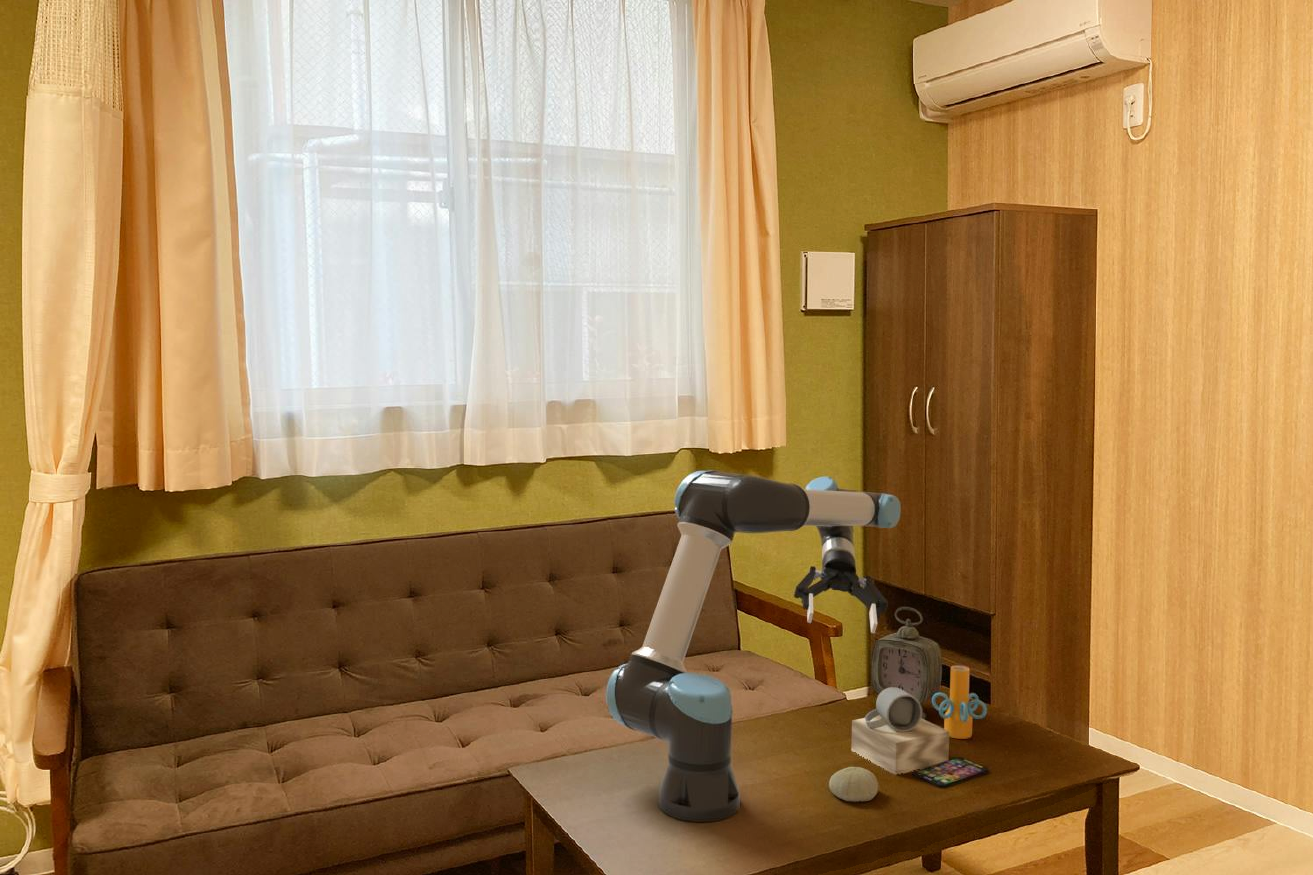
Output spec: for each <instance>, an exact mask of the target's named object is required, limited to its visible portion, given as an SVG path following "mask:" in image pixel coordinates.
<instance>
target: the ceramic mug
mask: <svg viewBox="0 0 1313 875" xmlns="http://www.w3.org/2000/svg"><path fill="white" fill-rule="evenodd" d="M877 695H878V694H877ZM875 702H876V703H875V706H876V708H875V709H873V710H871V711H869V712H868V713H867V714H866V715H865V717H864V718H865V721H866V724H867V726H868V727H869V728H879V727H882V726H884V725H887V724H889V725H890V726H891V727H892V728H893V729H895V730H897V731H900V732H906V731H910V730H912V729H913V728H915V727H916V726H917V725H918V723H919V722H920V720H921V716H922V708H921V705H920V703H919V701H918V700H917V699H916V698H915V697H914V696H912V695H910V694H908V693H907V692H905V691H904V690H902V689H899V688H896V687H890V688H886V689H884V690H883V691H882V692H881V693H880V694H879V695H878V696H877V697H876V701H875ZM878 715H880V716H881V717H882V718H881V719H879V720H876V721H870V720H872V719H873V718H874V717H876V716H878Z"/></svg>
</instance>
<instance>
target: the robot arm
mask: <svg viewBox="0 0 1313 875" xmlns="http://www.w3.org/2000/svg"><path fill="white" fill-rule="evenodd" d="M673 504H674V506H675V508H674V512H675V515H676V517H677V518H678V522H677V528H678V530H679V533H680V535H681V536H680V539H679V542H678V544H677V547H676V550H675V553H674V556H673V559H672V562H671V565H670V567H669V570H668V573H667V575H666V579H665V582H664V584H663V587H662V590H661V593H660V595H659V598H658V601H657V605H656V607H655V609H654V613H653V614H652V618H651V622H650V623H649V627H648V629H647V632H646V635H645V638H644V640H643V643H642V646H641V647H640V648H639V649H637V650H635V651H632V653H631V654H630V658H629V660H628V662H627V663H625V664H624V663H623V664H621V665H619V666H618V667H617V669H615V670H613V672H612V673H611V675H610V677H609V679H608V682H607V685H606V690H605V699H606V700H605V702H606V706H607V708H608V712H609V714H610V717H612V718H613V720H615V721H616V723H618V724H620V725H622V726H625V727H626V728H628V729H629V730H632V731H637V732H640V733H641V734H642V733H643V734H645V735H648V736H651V737H653V738H657V739H658V740H659V739H660V740H663V741H664V742H667V743H668V744H667V745H668V746H667V747H668V750H667V752H668V757H667V758H668V760H667V761H668V763H667V765H666V769H665V771H664V775H663V777H662V781H661V784H660V785H659V786H660V787H659V789H658V808H660V810H661V811H662V812H663V813H665V814H666V815H668V816H670V817H672V818H675V819H677V820H682V821H687V822H694V823H695V822H696V823H697V822H698V823H706V822H707V823H709V822H715V821H721V820H725V819H728V818H729V817H732V816H733V815H735V814H736V813H737V812H739V809H740V806H741V804H740V803H741V800H740V799H741V797H740V795H741V794H740V789H739V786H738V782H737V780H736V778H735V774H734V770H733V766H732V729H733V727H732V726H733V717H732V716H733V705H732V694H731V690H730V688H729V687H728V686H727V684H726V683H724V682H723V681H722V680H720V679H719V678H717V677H714V676H712V675H709V674H704V673H699V674H698V673H696V672H687V669H686V667H685V664H684V661H685V658H686V654H687V651H688V648H689V647H690V643H691V640H692V636H693V634H694V631H695V628H696V624H697V622H698V620H699V616H700V613H701V610H702V608H703V604H704V602H705V600H706V595H707V593H708V589H709V587H710V584H711V581H712V578H713V575H714V572H715V569H716V567H717V564H718V560H719V557H720V555H721V552H722V550H723V549H726V547H728V546H731V545H732V543H733V539H734V537H735V534H736V533H739V534H740V533H741V534H742V533H743V534H766V533H768V534H769V533H777V532H778V533H779V532H794V531H798V530H800V529H802V528H803V527H816V529H817V530H818V534H819V537H820V542H821V562H822V563H821V565H822V566H821V568H822V570H817V568H816V567H815V566H814V565H811V566H810V568H809V572H808V573H807V574H806V575H805V576H804V578H803V579H802V580H801V581H800V582H799V583H798V584H797V586H795V590H794V593H793V594H794V595H793V597H794V598H795V599H799V598H800V599H801V604H802V605H801V606H802V609H803V610H807V613H806V614H807V615H806V616H807V617H806V618H807V623H809V624H811V623H812V621H813V616H814V598H815V597H816V596H818V595H819V594H821V593H822V592H826V591H829V590H830V589H831V590H832V591H841V592H844V593H846V592H847V594H849V595H850V596H852V597H855V598H856V599H857V600H858V601H859V602H861V603H862V604H863V605H864V606H866V607H867V608H868V609H869V612H868V614H869V624H870V625H869V626H870V633H871V634H876V630H877V627H878V622H880V619H881V616H882V613H886V611H887V609H888V606H889V602H888V600H887V599H886V598H885V597H884V595H883V593H882V592H881V591H880V590H879V589H878V588H877V586H876V585H875V584H874V582H873V580H872V577H871V576H870V575H867V574H866V575H865V576H864V577H860V576H858V574H857V564H856V555H855V553H856V552H855V543H854V527H857V526H858V527H874V528H879V529H883V528H885V529H892V528H894V527H896V526H897V525H898V522H899V521H900V518H901V510H902V509H901V508H902V507H901V503H900V500H899V498H898V497H897V496H895V495H893V494H887V493H885V492H884V493H881V492H880V493H879V492H869V491H863V490H862V491H861V490H860V491H859V490H854V489H853V490H852V489H844V488H839V487H838V483H837V482H836V480H835V479H833V478H832V477H830V476H820V477H816V478H814V479H812V480H811V481H809V483H808V484H807V485H806V486H805V488H803V487H802V486H800V485H798V484H796V483H786V482H782V481H777V480H773V479H770V478H765V477H761V476H757V475H751V474H750V475H749V474H741V473H733V472H732V473H731V472H724V471H718V470H713V469H711V470H697V471H694V472H692V473H689V475H687V476H686V477H685V478H684V479H682V481H681V482H680V484H679V486H678V487H677V488H676V492H675V496H674V501H673ZM853 526H854V527H853ZM818 578H820V580H818V581H817V582H815V583H813V581H816V580H817V579H818ZM812 583H813V584H812ZM811 584H812V585H811Z"/></svg>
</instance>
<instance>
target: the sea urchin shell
mask: <svg viewBox="0 0 1313 875" xmlns="http://www.w3.org/2000/svg"><path fill="white" fill-rule="evenodd" d="M879 785H880V784H879V782H878V780H877V777H876V776H875V774H874V773H873V772H871V771H870V770H868V769H866V768H863V767H860V766H848V767H844V768H843V769H840V770H837V771H836V772H835V773H833V774H832V776H831V777H830V779H829V781H828V788H829V790H830V791H831V793H832V794H833V795H834V796H836V797H837V798H838V799H840V800H841V799H842V800H843V801H845V802H858V803H859V802H860V801H861V802H860V803H862V802H868V801H871V800H873V799H874V798H875V796H877V793H878V791H879V790H878V789H879Z"/></svg>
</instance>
